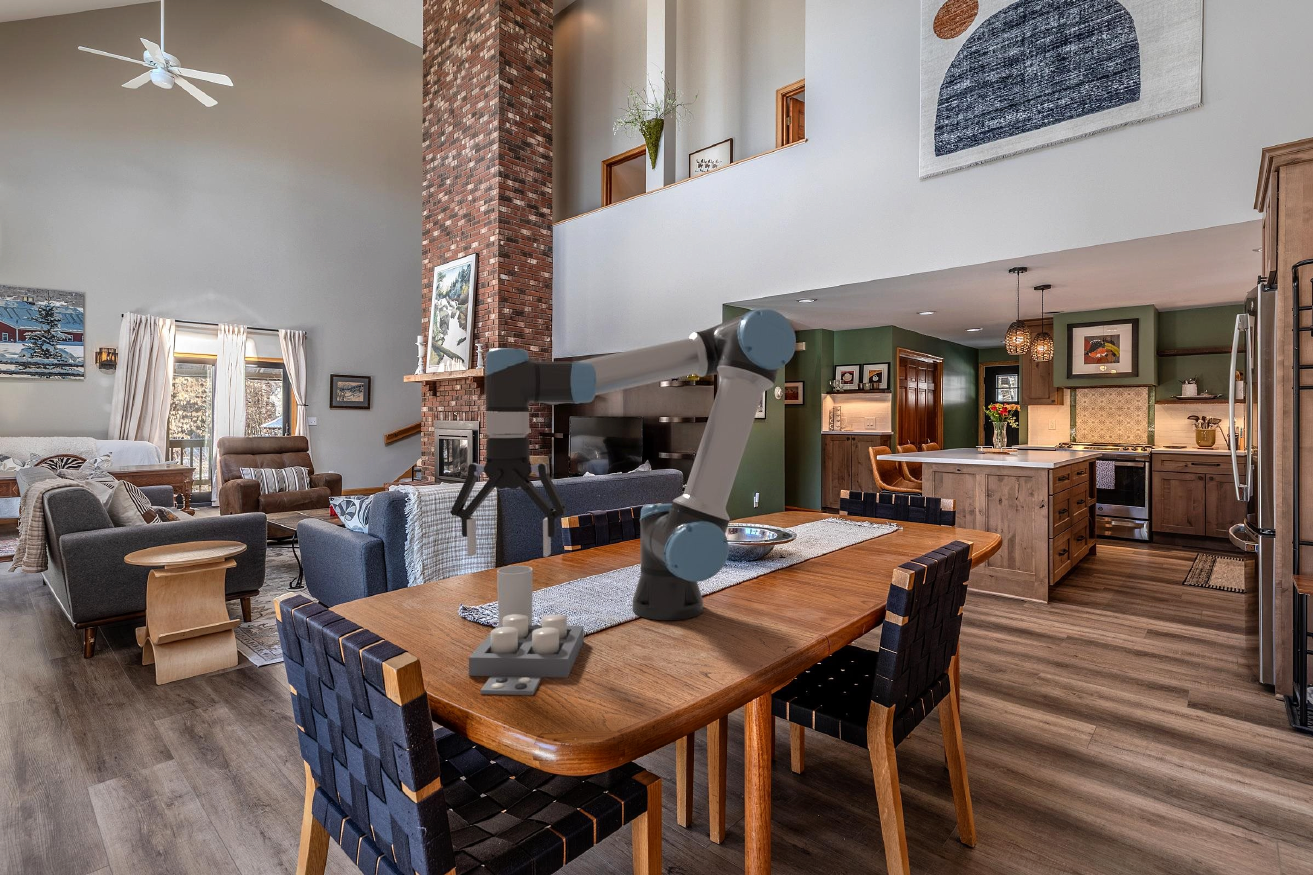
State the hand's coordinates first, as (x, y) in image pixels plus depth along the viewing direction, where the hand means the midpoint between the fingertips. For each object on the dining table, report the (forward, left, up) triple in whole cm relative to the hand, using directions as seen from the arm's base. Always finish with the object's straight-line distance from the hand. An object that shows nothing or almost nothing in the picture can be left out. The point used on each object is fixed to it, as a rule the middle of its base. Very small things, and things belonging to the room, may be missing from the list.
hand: (509, 555), depth 114 cm
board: (-5, +4, -17) cm, 18 cm away
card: (-5, +16, -17) cm, 24 cm away
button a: (-8, +1, -15) cm, 17 cm away
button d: (-1, +8, -15) cm, 17 cm away
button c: (-8, +8, -15) cm, 18 cm away
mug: (+2, -11, -17) cm, 20 cm away
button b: (-1, +1, -15) cm, 15 cm away
